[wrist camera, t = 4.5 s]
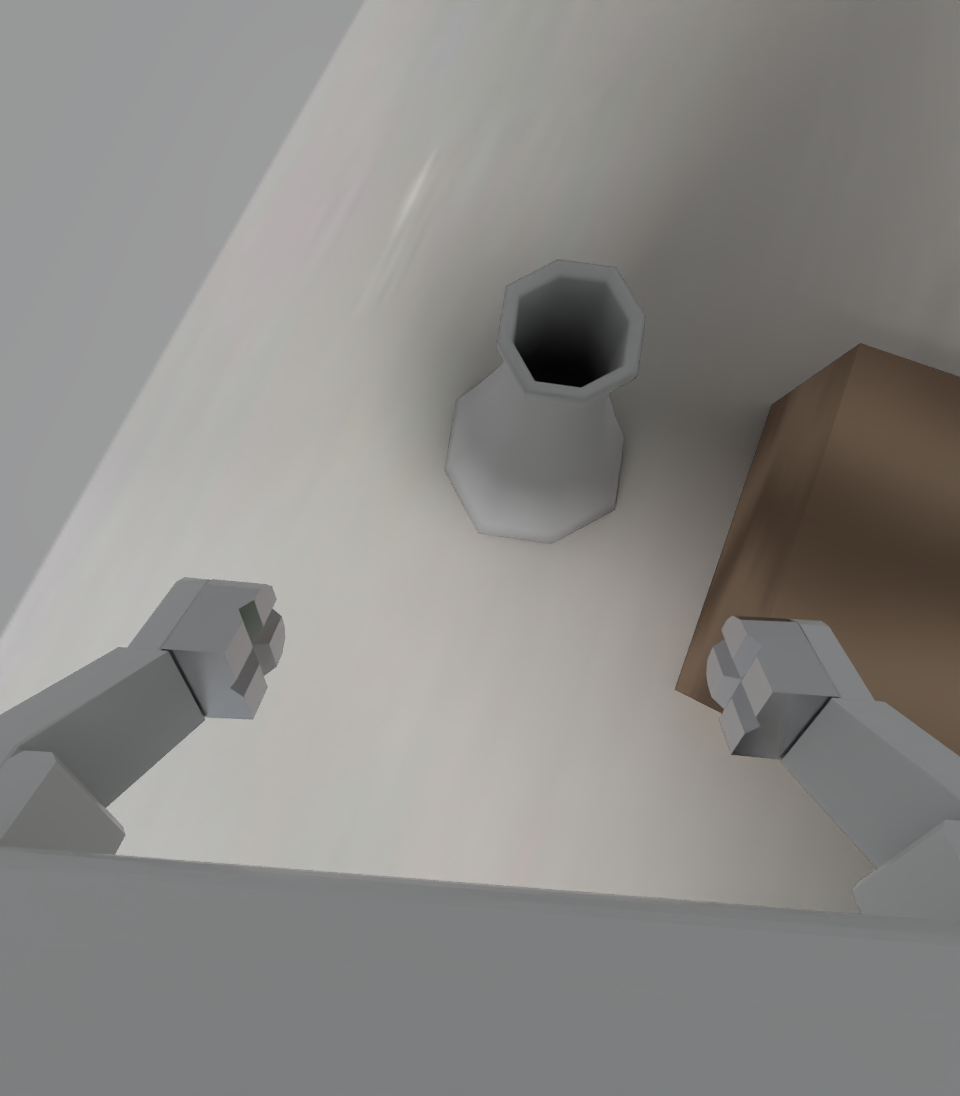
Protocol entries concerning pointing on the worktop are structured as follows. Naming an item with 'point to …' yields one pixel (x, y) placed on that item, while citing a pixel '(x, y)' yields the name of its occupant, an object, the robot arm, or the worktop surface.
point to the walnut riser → (855, 532)
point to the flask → (549, 406)
